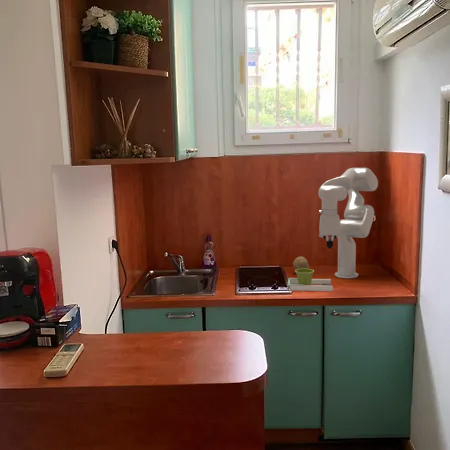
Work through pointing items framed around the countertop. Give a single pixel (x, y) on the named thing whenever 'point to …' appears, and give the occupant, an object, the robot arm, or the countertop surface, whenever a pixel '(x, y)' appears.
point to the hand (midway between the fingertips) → (329, 248)
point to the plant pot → (304, 276)
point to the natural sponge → (300, 263)
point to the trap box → (301, 287)
